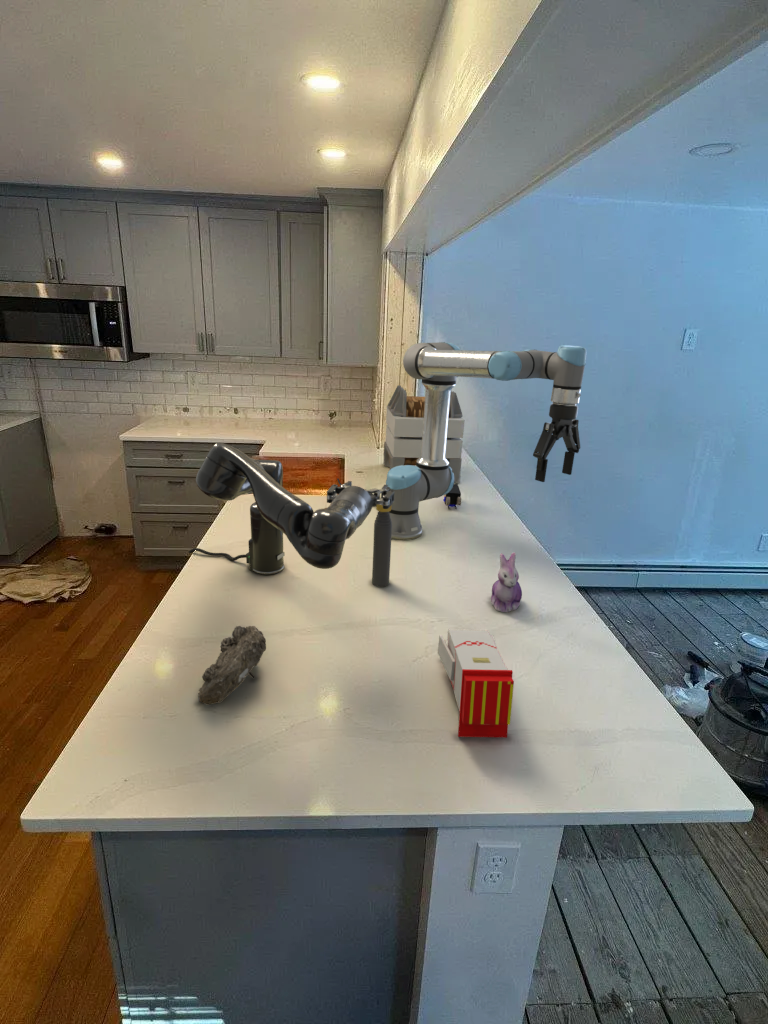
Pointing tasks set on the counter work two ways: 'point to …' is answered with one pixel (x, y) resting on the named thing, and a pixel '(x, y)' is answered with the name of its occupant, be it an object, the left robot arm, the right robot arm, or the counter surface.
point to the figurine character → (453, 497)
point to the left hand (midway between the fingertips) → (368, 486)
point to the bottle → (382, 549)
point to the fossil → (232, 664)
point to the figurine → (506, 586)
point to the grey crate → (419, 431)
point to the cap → (380, 508)
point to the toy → (478, 682)
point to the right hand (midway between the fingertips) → (553, 477)
